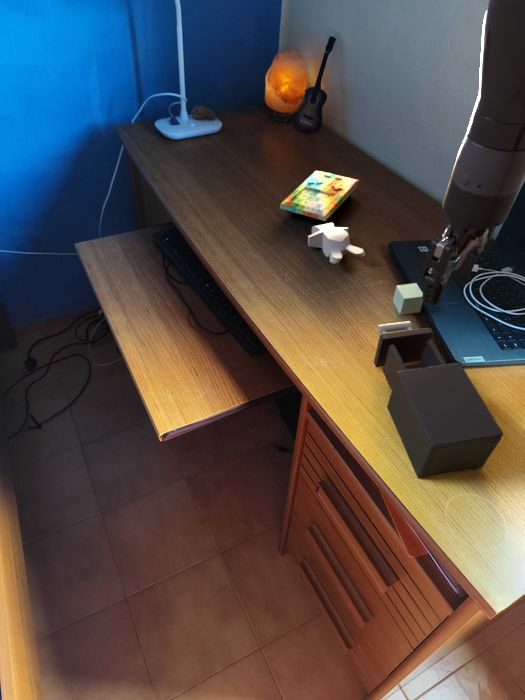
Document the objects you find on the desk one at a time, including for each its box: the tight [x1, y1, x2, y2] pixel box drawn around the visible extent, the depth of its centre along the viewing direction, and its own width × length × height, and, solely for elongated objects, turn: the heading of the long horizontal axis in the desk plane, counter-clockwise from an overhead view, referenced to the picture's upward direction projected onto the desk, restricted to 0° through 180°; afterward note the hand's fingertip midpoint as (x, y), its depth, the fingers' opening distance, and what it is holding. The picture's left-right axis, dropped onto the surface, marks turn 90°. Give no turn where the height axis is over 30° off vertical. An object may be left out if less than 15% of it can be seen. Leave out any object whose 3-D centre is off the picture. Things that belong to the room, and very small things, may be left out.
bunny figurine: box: [307, 222, 366, 264], centre depth 101 cm, size 10×5×15 cm
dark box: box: [386, 362, 504, 479], centre depth 66 cm, size 13×10×9 cm
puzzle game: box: [279, 170, 360, 222], centre depth 115 cm, size 12×5×20 cm
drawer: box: [373, 320, 447, 391], centre depth 74 cm, size 16×8×7 cm, turn 9°
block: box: [392, 282, 424, 316], centre depth 88 cm, size 4×4×4 cm
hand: (446, 287), depth 65 cm, fingers open, 8 cm apart
